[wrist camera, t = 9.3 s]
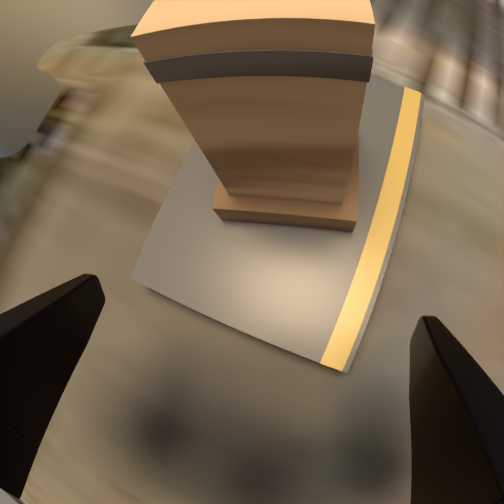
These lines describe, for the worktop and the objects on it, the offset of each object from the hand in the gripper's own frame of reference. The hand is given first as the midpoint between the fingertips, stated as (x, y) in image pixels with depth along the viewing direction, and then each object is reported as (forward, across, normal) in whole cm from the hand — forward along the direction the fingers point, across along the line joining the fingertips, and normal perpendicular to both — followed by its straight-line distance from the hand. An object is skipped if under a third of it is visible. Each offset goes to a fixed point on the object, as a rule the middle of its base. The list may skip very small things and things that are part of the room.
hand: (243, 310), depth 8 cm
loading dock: (+13, 0, +2) cm, 13 cm away
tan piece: (+11, 0, 0) cm, 11 cm away
